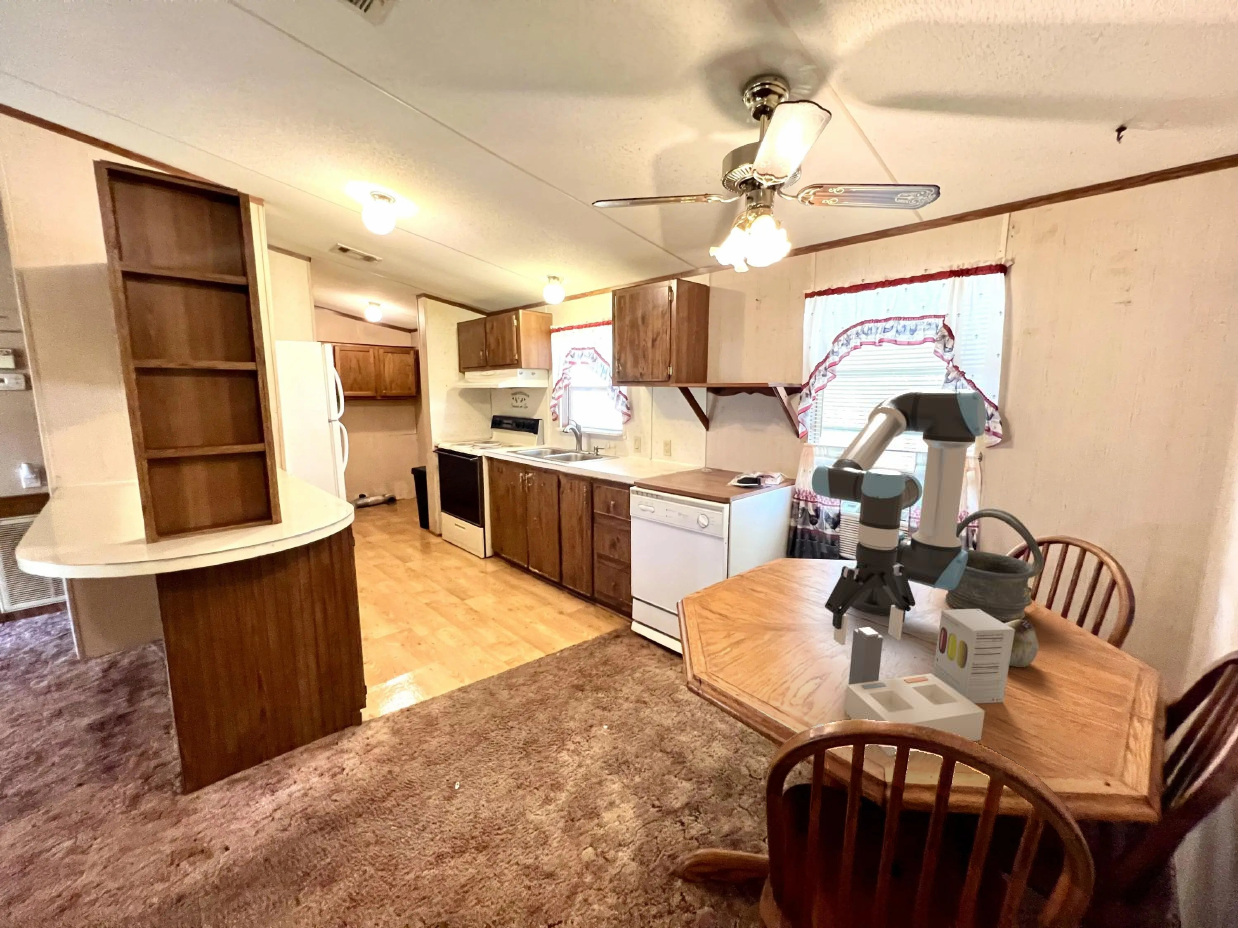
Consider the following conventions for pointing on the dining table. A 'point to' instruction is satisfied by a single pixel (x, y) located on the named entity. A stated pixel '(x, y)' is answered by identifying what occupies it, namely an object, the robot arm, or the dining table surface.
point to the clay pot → (996, 575)
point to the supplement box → (973, 654)
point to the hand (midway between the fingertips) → (867, 639)
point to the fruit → (1023, 643)
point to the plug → (865, 656)
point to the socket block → (915, 705)
